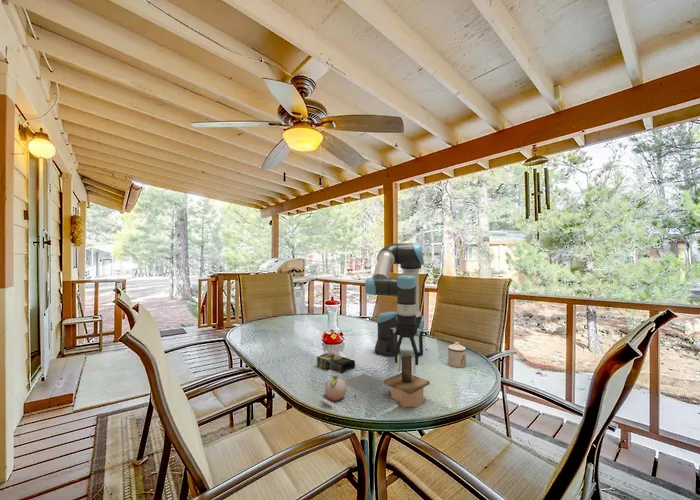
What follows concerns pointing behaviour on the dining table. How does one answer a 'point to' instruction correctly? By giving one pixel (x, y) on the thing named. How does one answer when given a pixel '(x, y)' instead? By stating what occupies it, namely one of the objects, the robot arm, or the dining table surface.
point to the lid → (406, 378)
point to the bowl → (407, 397)
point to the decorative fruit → (335, 388)
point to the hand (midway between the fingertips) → (406, 371)
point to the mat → (364, 382)
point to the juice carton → (334, 362)
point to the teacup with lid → (456, 355)
